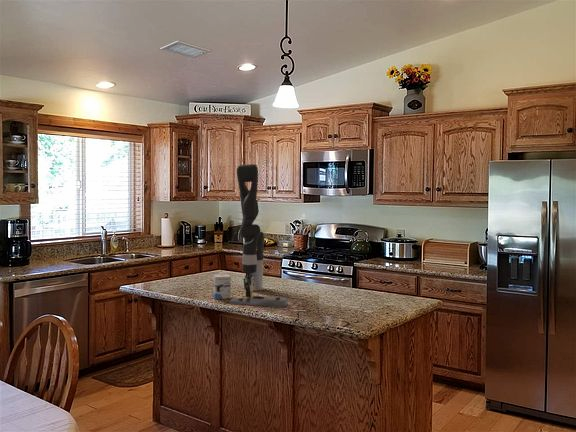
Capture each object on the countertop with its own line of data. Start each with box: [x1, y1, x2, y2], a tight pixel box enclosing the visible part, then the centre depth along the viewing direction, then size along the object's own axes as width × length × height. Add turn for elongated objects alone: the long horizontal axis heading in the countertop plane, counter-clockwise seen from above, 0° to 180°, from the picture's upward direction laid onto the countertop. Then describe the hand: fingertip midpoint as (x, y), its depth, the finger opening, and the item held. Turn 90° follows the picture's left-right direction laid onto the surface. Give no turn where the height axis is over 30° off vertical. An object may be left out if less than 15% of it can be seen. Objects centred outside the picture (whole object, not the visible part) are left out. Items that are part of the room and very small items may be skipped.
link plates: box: [229, 295, 289, 308], centre depth 261 cm, size 7×28×4 cm, turn 80°
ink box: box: [212, 274, 232, 300], centre depth 274 cm, size 8×5×12 cm, turn 105°
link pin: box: [245, 281, 254, 299], centre depth 269 cm, size 4×4×10 cm
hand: (248, 295), depth 269 cm, fingers closed on link pin, 3 cm apart
